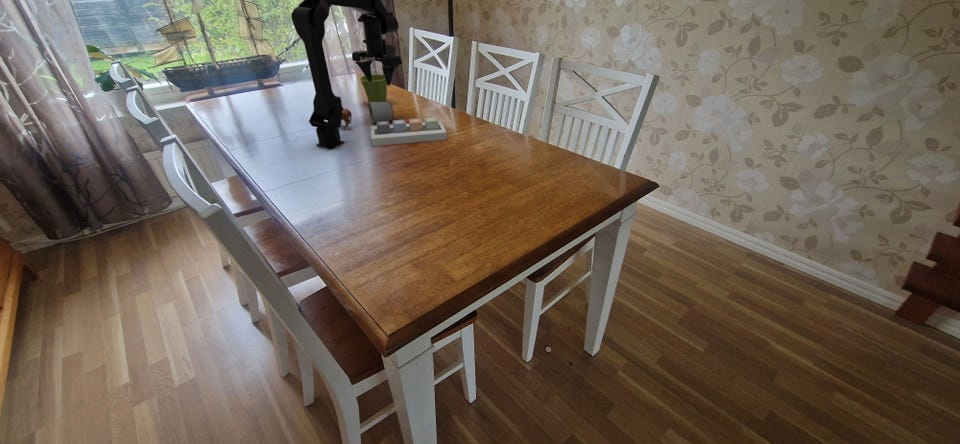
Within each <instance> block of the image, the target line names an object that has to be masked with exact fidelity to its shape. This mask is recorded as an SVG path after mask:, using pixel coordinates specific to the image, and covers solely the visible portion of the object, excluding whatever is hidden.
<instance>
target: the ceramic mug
mask: <svg viewBox="0 0 960 444" xmlns="http://www.w3.org/2000/svg"><path fill="white" fill-rule="evenodd" d="M368 112H369V117H370V122H371V123H372V124H376V122H379V121H389V122H391V121H393V120H394V115H395V114H394V108H393V105H392V103H391V102H390V101H387V102H369V101H368Z"/></svg>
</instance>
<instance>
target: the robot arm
mask: <svg viewBox="0 0 960 444" xmlns="http://www.w3.org/2000/svg"><path fill="white" fill-rule="evenodd" d="M331 6H334V7H342V8H343V7H344V8H350V9H351V8H352V9H353V10H355V11H357V12H359V13H361V14H360V15H359V17H358V19H357V22H358V23H362V26H363V32H364V39H362V43H363V44H365V47H366V50H363V49H362V50H357V51H352V54H351V59H352V61H354V63H355V65H357V66H358V68H359V69H360V70H361V72H362V73H363V76H366V78H367V80H368V81H369V82H372V75H371V74H372V63H373V61H374V62H380V63H381V64H382V65H383V66H381V69H382V72H383V75H384V76H385V79H386V83H387V87H388V86H391V84H392V79H393V76H394V72H395V70H396V69H397V68H398V67H400V65H403V63H402V57H401V56H400V55H396V51H397V47H395V46H393V45H392V44H391V45H390V44H388V43H387V40H386V39H385V38H383V36H384V35H389V34H390V35H391V34H396V33H397V32H398V30H399V22H398V20H397V18H396V17H395V16H394V13H393V11H388V10H387V9H386V7H385V5H384V4H383V1H382V0H302V1H301V2H300V3H299V5H298V6H297V7H295V8H293V10H292V12H291V15H290V16H291V21H292V22H291V23H292V25H293V27H294V29H295V32H296V34H297V35H298V36H299V39H301V41H302V42H303V44H304V45H303V46H304V49H305V53H306V57H307V60H308V61H307V62H308V66H309V70H310V73H311V77H312V78H311V79H312V83H313V86H314V87H313V88H314V91H315V95H314V98H313V100H312V101H313V102H312V104H313V111H312V113H311V116H310V118H309V120H308V122H309V125H311V127H312V128H313V127H315V131H316V136H317V140H318V143H316V145H315V146H316V147H319V148H323V149H328V150H333V149H335V148H336V147H338V146H341V145H343V144H345V141H344V140H341V134H340V129H339V128H341V127H342V121H343V120H342V114H343V113H342V110H344V109H345V108H344V107H343V105H342V104H343V103H342V98H341V96H337V95H335V93H334V92H333V87H332V83H331V79H330V75H329V71H328V70H329V69H328V65H327V59H326V55H325V49H324V46H323V40H324V38H325V37H324V36H325V33H326V27H325V22H326V21H327V19H328V17H329V15H330V9H331Z"/></svg>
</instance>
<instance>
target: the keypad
mask: <svg viewBox="0 0 960 444" xmlns="http://www.w3.org/2000/svg"><path fill="white" fill-rule="evenodd" d="M389 125H390V132H391V133H390V134H378V131H377V125H372V126H370V133H371V143H372V147H379V146H389V145H402V144H413V143H425V142H435V141H437V142H438V141H447V140H448V136H447V135H448V133H447V130H446V129H445V126H444V125H443V123H442V121H441V120H438V129H439V130H426V128H425V121H422V126H423V131H415V132H411V131H410V128H409V122H408V123H407V122H406V128H407V132H402V133H394V128H393V124H389Z"/></svg>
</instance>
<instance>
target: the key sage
mask: <svg viewBox="0 0 960 444" xmlns="http://www.w3.org/2000/svg"><path fill="white" fill-rule="evenodd" d="M423 119H424V122H425V128H426V130H439V129H438V121H439V120H438V118H437V117H436V116H435V117H424V118H423Z"/></svg>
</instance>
